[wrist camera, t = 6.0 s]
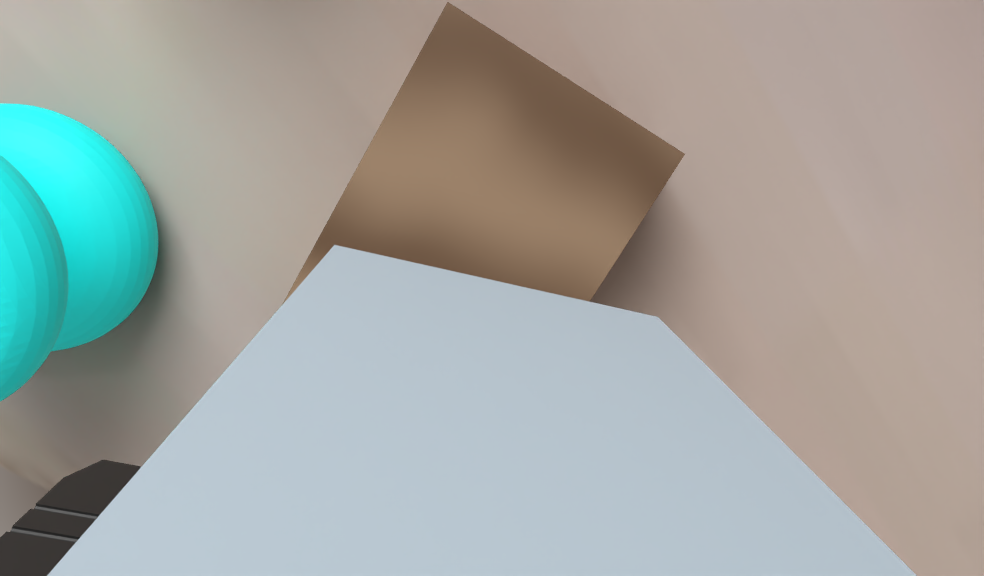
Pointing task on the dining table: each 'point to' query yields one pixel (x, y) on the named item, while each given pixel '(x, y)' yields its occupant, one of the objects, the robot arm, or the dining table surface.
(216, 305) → the dining table surface
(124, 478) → the robot arm
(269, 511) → the column
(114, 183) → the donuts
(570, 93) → the plinth
